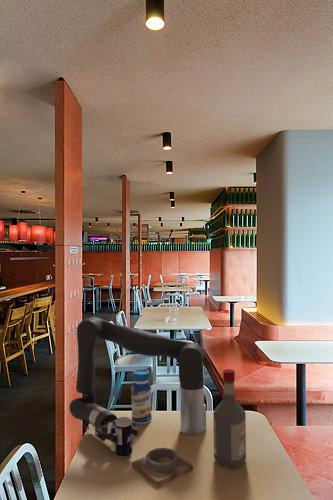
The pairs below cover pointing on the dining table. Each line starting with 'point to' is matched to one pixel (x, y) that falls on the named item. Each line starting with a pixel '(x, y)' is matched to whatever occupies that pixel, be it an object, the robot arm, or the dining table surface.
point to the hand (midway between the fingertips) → (126, 436)
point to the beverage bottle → (141, 397)
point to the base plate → (165, 477)
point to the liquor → (229, 427)
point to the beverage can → (123, 437)
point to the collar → (162, 466)
